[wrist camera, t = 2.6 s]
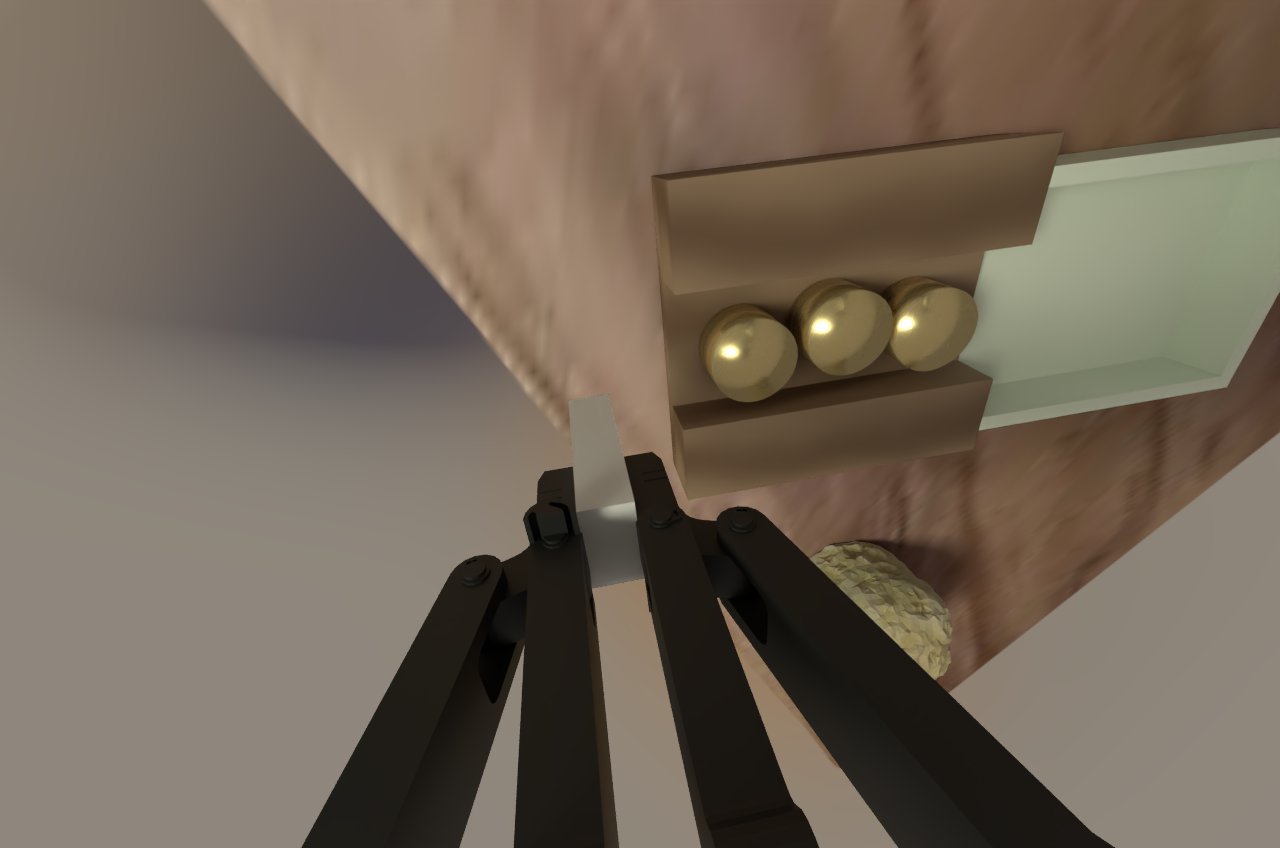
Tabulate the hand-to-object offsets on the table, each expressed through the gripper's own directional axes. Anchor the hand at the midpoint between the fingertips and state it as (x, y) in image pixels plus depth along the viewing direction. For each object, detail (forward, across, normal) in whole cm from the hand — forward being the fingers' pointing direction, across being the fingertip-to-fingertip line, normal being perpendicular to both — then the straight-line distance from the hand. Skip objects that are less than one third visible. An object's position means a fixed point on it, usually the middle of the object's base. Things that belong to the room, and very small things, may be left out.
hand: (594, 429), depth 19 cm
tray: (+7, +28, 0) cm, 29 cm away
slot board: (+7, +12, 0) cm, 14 cm away
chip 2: (+6, +12, +1) cm, 14 cm away
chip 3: (+6, +16, 0) cm, 18 cm away
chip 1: (+6, +8, 0) cm, 10 cm away
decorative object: (+8, +16, -20) cm, 27 cm away
